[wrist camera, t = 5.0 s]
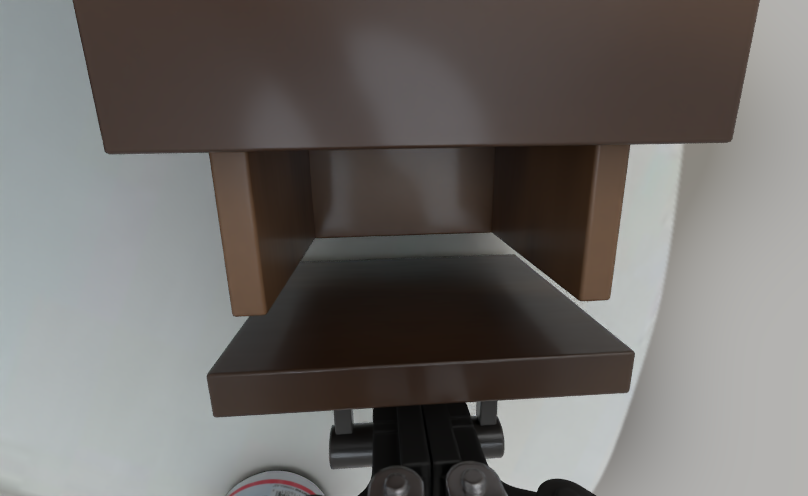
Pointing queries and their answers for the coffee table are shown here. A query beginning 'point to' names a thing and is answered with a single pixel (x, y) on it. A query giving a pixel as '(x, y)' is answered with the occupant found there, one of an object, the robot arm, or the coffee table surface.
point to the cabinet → (412, 73)
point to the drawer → (417, 283)
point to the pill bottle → (275, 485)
